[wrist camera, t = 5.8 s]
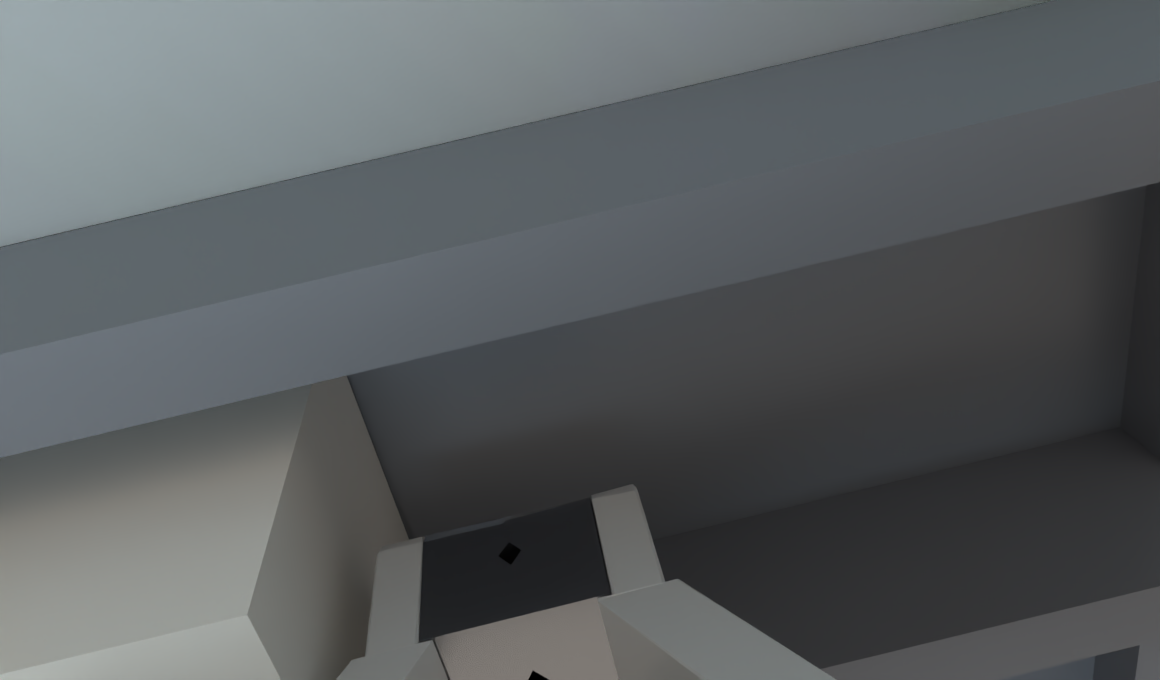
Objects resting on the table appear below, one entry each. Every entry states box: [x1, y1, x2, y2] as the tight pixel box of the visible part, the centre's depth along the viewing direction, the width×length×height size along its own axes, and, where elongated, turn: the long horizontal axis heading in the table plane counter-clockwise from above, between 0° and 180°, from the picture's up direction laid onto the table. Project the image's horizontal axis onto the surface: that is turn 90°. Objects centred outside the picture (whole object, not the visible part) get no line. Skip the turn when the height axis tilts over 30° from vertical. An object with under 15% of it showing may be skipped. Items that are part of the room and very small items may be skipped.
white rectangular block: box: [0, 376, 409, 680], centre depth 10 cm, size 4×4×6 cm
